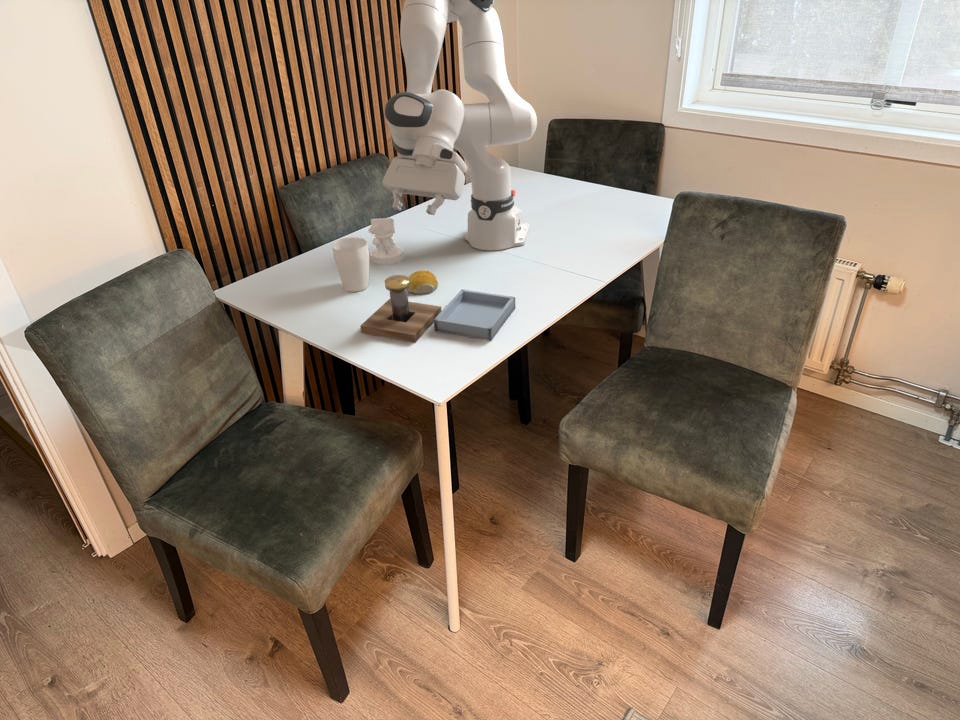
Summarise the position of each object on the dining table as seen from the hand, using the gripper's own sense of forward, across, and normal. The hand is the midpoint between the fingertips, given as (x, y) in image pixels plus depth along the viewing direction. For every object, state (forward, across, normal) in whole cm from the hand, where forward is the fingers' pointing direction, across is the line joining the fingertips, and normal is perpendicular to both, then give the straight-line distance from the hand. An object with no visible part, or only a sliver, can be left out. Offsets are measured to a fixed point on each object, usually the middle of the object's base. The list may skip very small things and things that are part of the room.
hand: (412, 211), depth 155 cm
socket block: (+25, +2, +8) cm, 26 cm away
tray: (+19, +17, +14) cm, 29 cm away
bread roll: (+12, -4, +21) cm, 25 cm away
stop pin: (+25, +2, +8) cm, 26 cm away
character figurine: (+3, -23, +29) cm, 38 cm away
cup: (+17, -20, +16) cm, 31 cm away
